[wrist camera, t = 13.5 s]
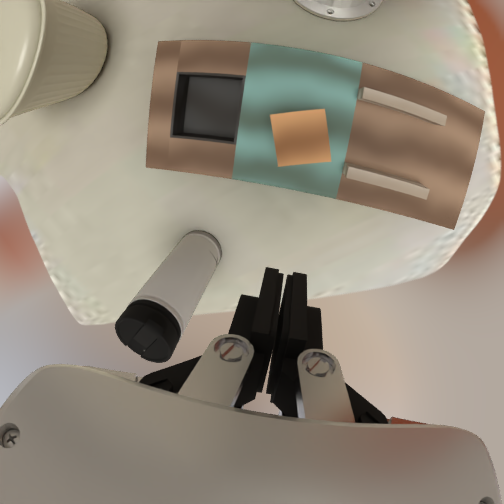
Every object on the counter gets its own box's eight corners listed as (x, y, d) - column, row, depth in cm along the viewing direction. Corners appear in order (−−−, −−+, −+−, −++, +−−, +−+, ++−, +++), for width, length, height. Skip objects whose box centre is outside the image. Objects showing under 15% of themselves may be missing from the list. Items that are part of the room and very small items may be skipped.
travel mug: (232, 247, 42) (184, 349, 24) (205, 276, 45) (153, 376, 27) (197, 219, 41) (125, 305, 23) (173, 250, 44) (103, 340, 26)
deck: (171, 46, 30) (146, 36, 24) (469, 109, 27) (498, 113, 21) (159, 161, 38) (133, 172, 31) (441, 218, 35) (463, 239, 29)
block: (274, 114, 29) (269, 114, 25) (320, 109, 28) (324, 108, 24) (281, 158, 31) (278, 166, 27) (326, 154, 30) (331, 161, 26)
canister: (77, -6, 26) (-22, -25, 7) (150, 25, 29) (38, -12, 10) (30, 86, 34) (-68, 105, 15) (89, 132, 37) (-25, 167, 18)
